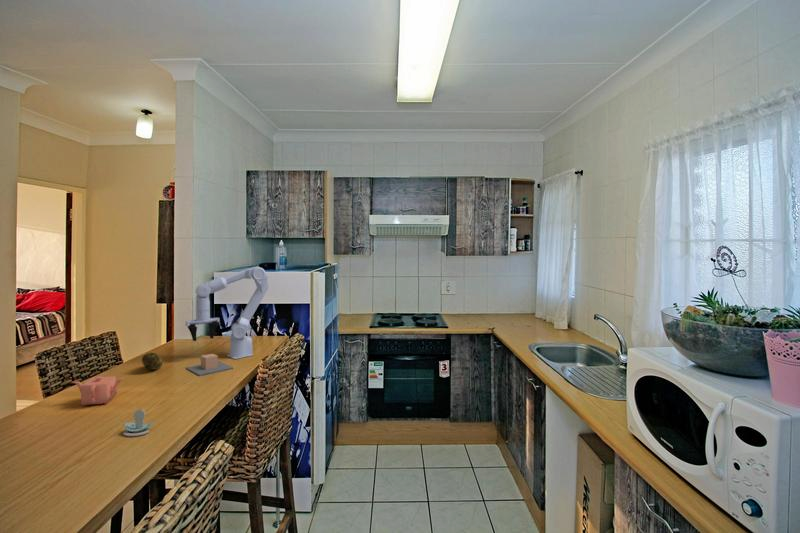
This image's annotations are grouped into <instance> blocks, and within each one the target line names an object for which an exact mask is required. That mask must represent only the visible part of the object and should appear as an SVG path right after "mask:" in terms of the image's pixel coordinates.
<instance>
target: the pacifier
mask: <svg viewBox="0 0 800 533" xmlns="http://www.w3.org/2000/svg"><path fill="white" fill-rule="evenodd" d="M145 417H146V412H145V410H144V409H142V408H141V409H140V408H139V409H136V410H135V411H134V413H133V420H134V421H135V422H126V423H124V430H126V431H124V432H123V433H122V434H123V436H125V437H138V436H143V435H146V434H148V433H149V432H150V430H149V429H148V428H149V427H151V426H152V425H154V423H155V421H150V422H148V423H144V422H145V421H144V419H145Z"/></svg>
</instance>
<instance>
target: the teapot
mask: <svg viewBox="0 0 800 533" xmlns="http://www.w3.org/2000/svg"><path fill="white" fill-rule="evenodd" d="M124 379H125V378H123V377H122V378H118V379H117V376H114V375H113V376H101V375H100V376H96V377H91V378H90V379H88V380H87V381H85V382H84V383H82V382H80V381H72V383H73V384H76V385H77V387H78V389H79V393H80V402H81V404H80V405H81V406H91V405H101V404H102V405H103V403H104V404H108V403H109V402H110V401H111V400H112V399H113V398H114V397H115V396H116V395H117V390H118V389H119V386H120V385H119V384H120V383H121V382H122V380H124ZM125 380H126V379H125ZM90 404H91V405H90Z"/></svg>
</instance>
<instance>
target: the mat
mask: <svg viewBox="0 0 800 533" xmlns="http://www.w3.org/2000/svg"><path fill="white" fill-rule="evenodd" d="M233 369H234V366H231V365H228V364H226V363H224V362H222V361H220V360H218V367H217V368H212V369H207V370H205V369H203V368H201V363H200V364H196V365H191V366H186V367H185V370H187V371H190V372H191V373H192V374H195V375H197V376H198V377H203V376H206V375H211V374H216V373H220V372H225V371H230V370H233Z"/></svg>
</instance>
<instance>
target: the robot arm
mask: <svg viewBox="0 0 800 533" xmlns="http://www.w3.org/2000/svg"><path fill="white" fill-rule="evenodd" d="M243 279H246V280H247V279H248V280H252V279H253V280H254V283H255V287H256V288H255V290H254V292H253V294H252V296H251V297H250V299H249V301H248V303H247V304H246V306H245V308H244V309H243V311H242V313H241V315H240V317H238V319H237V320H236V321H235V322H234V323H233V324H232V325H231V328H230V332H231V336H230V350H229V352H230V354H229V353H228V354H227V355H226V357H228V358H231V359H233V360H236V359H242V358H246V357H252V356H254V354H253V340H252V338H251V336H247V329H248V327H249V324H250V322H251V319H252V318H253V316H254V314H255V312H256V311H257V309H258V307H259V306H260V304H261V302H262V300H263V299H264V297H265V295H266V294H267V291H268V289H269V284H268V283H269V282H268V281H269V280H268V275H267V272H266V270H265V269H264V268H263V267H260V266H253V267H251V268H245V269H243V270H241V271H238V272H236V273H234V274H232V275H229V276H227V277H222V276H219V277H218V276H215V277H214V279H212V280H209V281H204V283H201V284H199V285H197V286H196V289H195V293H196V297H195V319H192V320H187V321H185V326H186V327H187V329H188V331H189V332H190V335H191V337H192V341H193V342H197V331H198V327H197V325H198V326H199V325H205V324H208V327H209V339H214V336H215V333H216V330H217V328H218V327H219V323H220V321H221V320H220V317H211V307H210V306H211V301H210V294H215V293H216V292H220V291H222V290H225V289H227V286H228V285H229V284H232V283H235V282H238V281H240V280H243Z"/></svg>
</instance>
